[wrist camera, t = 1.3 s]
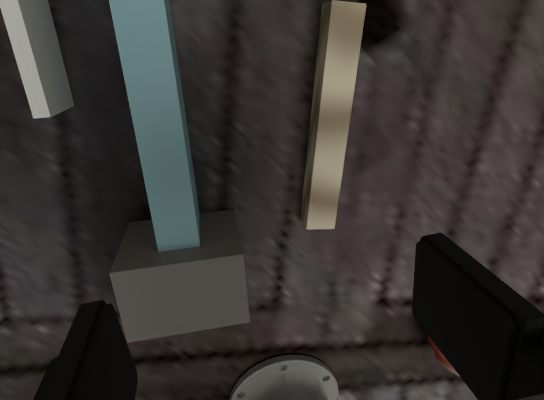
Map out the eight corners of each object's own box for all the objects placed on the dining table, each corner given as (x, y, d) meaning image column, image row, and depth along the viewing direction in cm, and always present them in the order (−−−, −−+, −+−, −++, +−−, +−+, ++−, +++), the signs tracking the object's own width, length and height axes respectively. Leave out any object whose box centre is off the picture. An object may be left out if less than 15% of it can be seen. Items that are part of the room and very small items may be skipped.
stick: (325, 216, 36) (334, 228, 34) (299, 217, 35) (306, 229, 33) (352, 7, 29) (366, 3, 27) (321, 4, 29) (332, 0, 26)
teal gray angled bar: (300, 257, 37) (325, 309, 29) (142, 280, 35) (127, 342, 27) (289, -128, 25) (326, -199, 18) (50, -130, 23) (-18, -212, 16)
